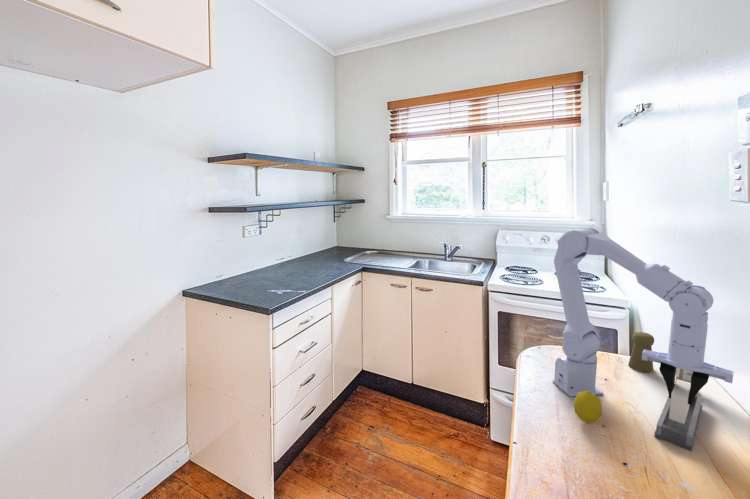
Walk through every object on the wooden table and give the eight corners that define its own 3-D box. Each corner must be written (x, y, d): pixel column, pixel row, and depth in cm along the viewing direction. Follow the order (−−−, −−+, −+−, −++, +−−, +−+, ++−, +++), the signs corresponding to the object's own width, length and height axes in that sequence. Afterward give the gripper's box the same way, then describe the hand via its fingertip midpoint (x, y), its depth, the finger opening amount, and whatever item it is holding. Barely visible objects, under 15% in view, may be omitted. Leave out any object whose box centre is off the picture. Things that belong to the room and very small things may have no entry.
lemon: (601, 434, 74) (603, 401, 73) (572, 426, 77) (574, 394, 76) (600, 419, 79) (602, 388, 78) (573, 412, 82) (574, 382, 81)
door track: (691, 451, 68) (693, 438, 68) (654, 436, 73) (655, 424, 72) (701, 409, 81) (703, 397, 81) (669, 398, 86) (670, 388, 85)
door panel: (684, 424, 71) (687, 398, 70) (668, 418, 73) (671, 393, 72) (689, 407, 76) (691, 383, 75) (674, 402, 78) (677, 379, 77)
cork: (658, 372, 98) (662, 337, 97) (638, 373, 99) (641, 337, 97) (642, 362, 104) (645, 329, 103) (623, 363, 105) (626, 329, 103)
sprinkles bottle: (691, 395, 87) (697, 347, 85) (670, 387, 91) (675, 340, 89) (700, 391, 89) (706, 343, 87) (679, 382, 93) (684, 337, 91)
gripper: (736, 346, 69) (729, 406, 71) (648, 328, 80) (643, 380, 82) (735, 357, 65) (727, 421, 67) (641, 336, 75) (637, 391, 77)
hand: (680, 399), depth 74 cm, fingers closed on door panel, 2 cm apart
